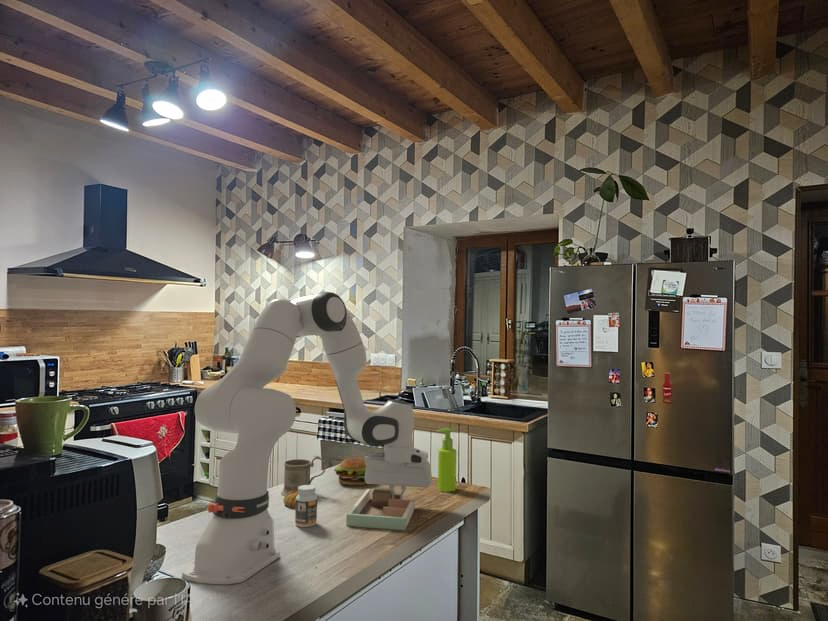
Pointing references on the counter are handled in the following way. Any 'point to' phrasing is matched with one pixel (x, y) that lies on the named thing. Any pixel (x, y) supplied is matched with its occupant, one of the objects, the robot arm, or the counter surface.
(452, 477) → the soap dispenser
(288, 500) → the pastry
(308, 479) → the mug
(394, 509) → the box
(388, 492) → the block
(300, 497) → the pill bottle
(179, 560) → the counter surface
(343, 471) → the food
